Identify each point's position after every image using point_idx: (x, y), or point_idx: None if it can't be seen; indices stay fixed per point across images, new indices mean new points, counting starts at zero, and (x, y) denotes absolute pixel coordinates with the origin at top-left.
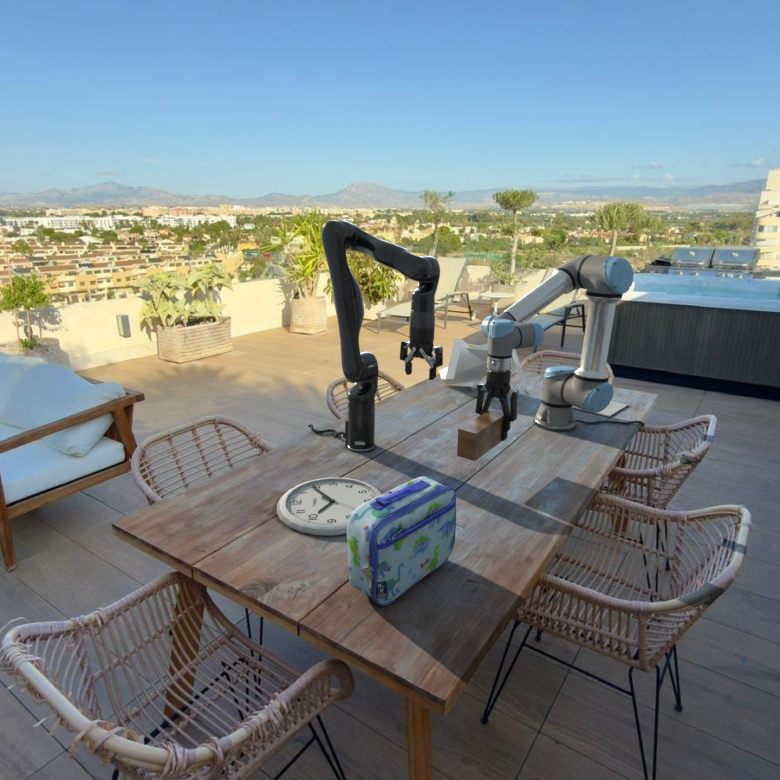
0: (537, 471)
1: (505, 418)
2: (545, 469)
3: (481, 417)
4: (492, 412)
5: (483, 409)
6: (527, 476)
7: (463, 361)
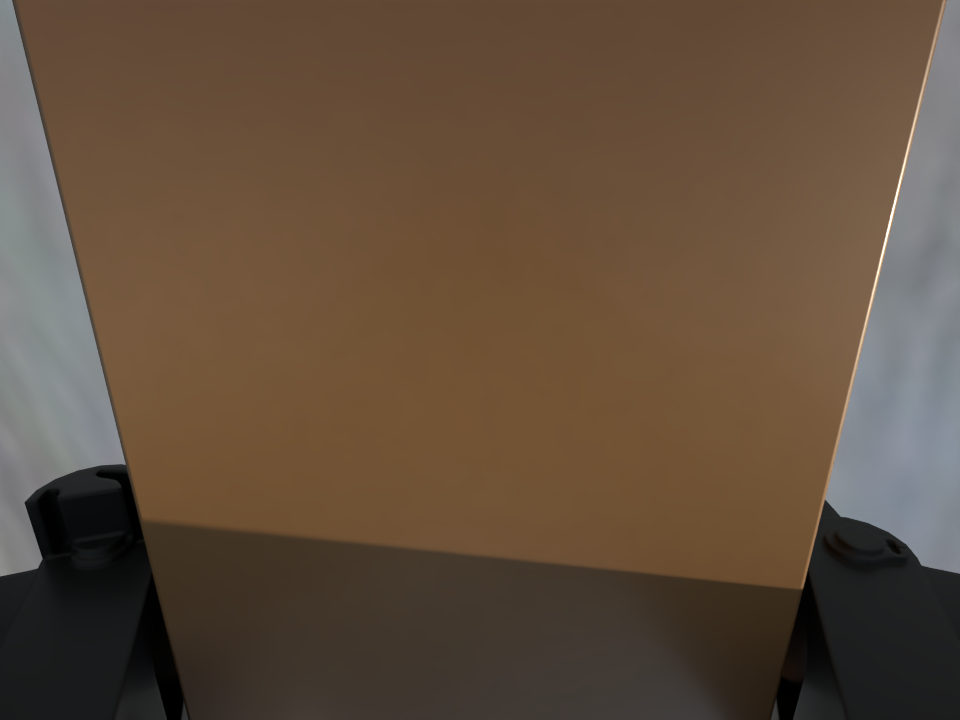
0: (37, 295)
1: (104, 586)
2: (20, 373)
3: (767, 20)
4: (589, 708)
5: (935, 699)
6: (25, 133)
7: None
